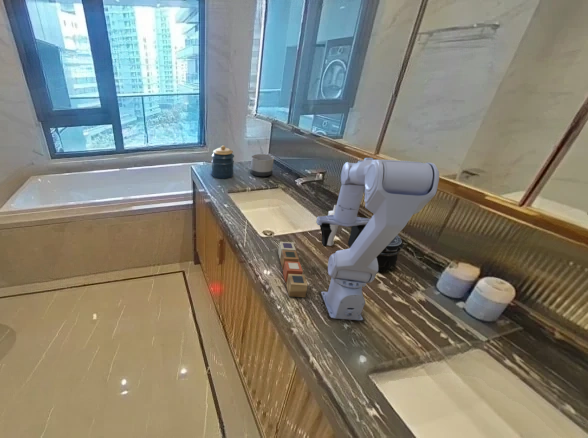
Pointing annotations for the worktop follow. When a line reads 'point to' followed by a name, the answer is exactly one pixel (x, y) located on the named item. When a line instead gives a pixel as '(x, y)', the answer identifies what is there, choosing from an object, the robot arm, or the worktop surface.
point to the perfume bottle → (333, 228)
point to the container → (389, 254)
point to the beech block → (288, 257)
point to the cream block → (285, 247)
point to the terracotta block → (291, 269)
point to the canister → (222, 163)
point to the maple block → (296, 285)
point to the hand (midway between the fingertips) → (337, 245)
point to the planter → (262, 165)
